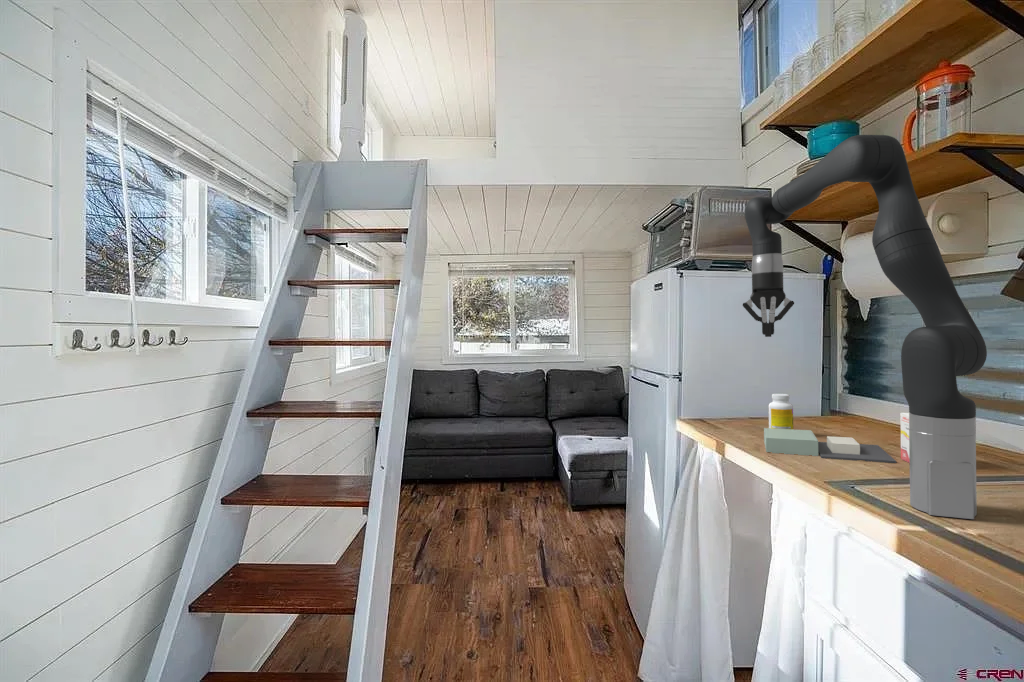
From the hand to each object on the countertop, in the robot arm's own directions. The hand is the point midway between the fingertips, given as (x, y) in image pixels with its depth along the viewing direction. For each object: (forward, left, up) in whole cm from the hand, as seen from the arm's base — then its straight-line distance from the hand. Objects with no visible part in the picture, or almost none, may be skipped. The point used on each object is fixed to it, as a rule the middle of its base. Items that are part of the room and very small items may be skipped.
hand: (768, 336), depth 137 cm
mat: (+5, -19, -31) cm, 37 cm away
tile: (+5, -18, -29) cm, 35 cm away
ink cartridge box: (-3, -32, -31) cm, 45 cm away
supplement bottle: (+21, -4, -31) cm, 38 cm away
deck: (+5, -5, -31) cm, 32 cm away
